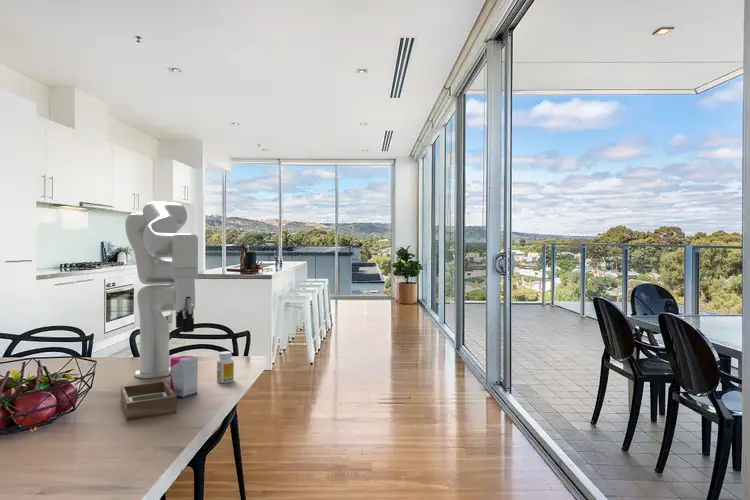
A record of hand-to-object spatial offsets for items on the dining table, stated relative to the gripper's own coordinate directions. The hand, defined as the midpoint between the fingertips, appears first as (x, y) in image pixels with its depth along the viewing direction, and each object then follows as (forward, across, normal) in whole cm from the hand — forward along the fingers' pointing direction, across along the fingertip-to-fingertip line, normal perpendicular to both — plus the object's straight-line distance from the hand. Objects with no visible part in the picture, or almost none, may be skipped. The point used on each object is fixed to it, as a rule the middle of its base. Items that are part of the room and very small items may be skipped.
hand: (184, 329), depth 148 cm
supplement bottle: (+20, -9, +15) cm, 27 cm away
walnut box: (+20, +7, -11) cm, 24 cm away
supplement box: (+20, 0, 0) cm, 20 cm away
